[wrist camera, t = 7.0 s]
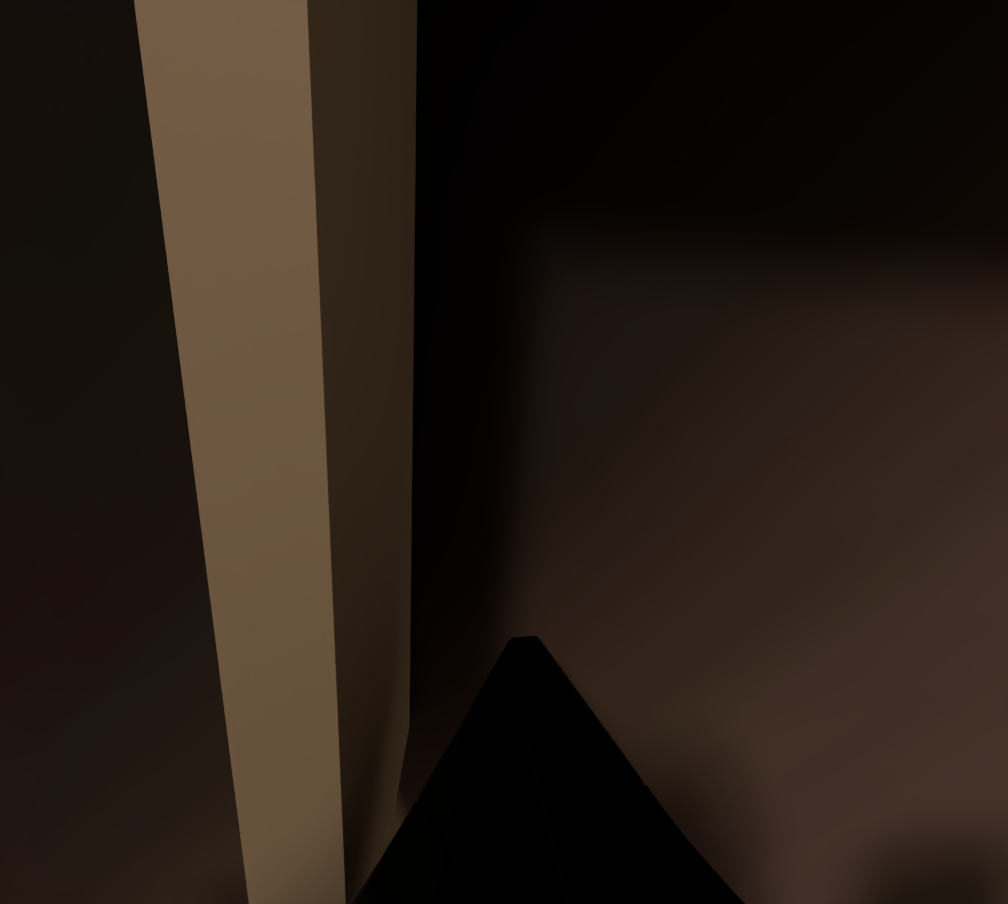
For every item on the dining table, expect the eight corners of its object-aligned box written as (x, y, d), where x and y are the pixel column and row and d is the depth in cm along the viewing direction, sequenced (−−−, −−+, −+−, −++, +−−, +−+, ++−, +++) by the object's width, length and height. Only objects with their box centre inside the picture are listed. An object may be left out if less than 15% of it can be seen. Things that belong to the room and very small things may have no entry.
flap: (411, 726, 11) (357, 1046, 7) (357, 724, 11) (262, 1045, 7) (424, -249, 6) (255, -1506, 2) (328, -258, 6) (-81, -1570, 2)
